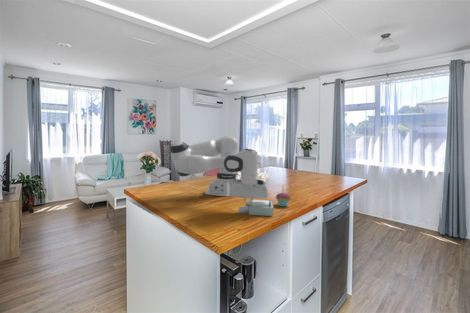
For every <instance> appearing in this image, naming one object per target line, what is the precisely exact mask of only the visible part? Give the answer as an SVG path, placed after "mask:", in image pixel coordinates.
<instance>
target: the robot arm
mask: <svg viewBox="0 0 470 313" xmlns="http://www.w3.org/2000/svg"><path fill="white" fill-rule="evenodd" d="M238 142H239V141H238V140H237V138H235V137H234V136H228V135H227V136H223V137H218V138H217V137H216V138H215V139H214V138H213V139H211V140H210V139H209V140H206V141H205V140H204V141H202V142H197V143H194V144H191V145H189V144H187V143H186V142H184V141H183V142H182V141H178V142H175V143H173V144H171V146H170V150H169V151H170V154H171V159H172V162H173V164H174V168H175V171H176V173H177V175H178V176H180V177H188V176H191V175H198V174H203V173H206V172H209V171H212V170H215V169H219V171H218V172H217V173H216V178H215V179H214V180H212V181H211V182H210V183H209V184H208V186H207V187H208V189H206V190H205V191H204V194H205V195H209V196H210V195H211V196H220V197H229V196H230V198H243V201H244V203H245V206H251V202H252V201H253V200H254V199H257V200H266V199H268V198H269V191H268V190H269V189H268V185H267V180H266V179H265V178H263V177H259V174H258V168H259V152H257V150H255V149H252V148H243V149H242V150H240V151H239V150H238V149H239V143H238ZM218 155H220V157H217V156H218ZM238 172H239V173H240V179H239V178H237V177H238V174H237V173H238ZM247 199H249V200H251V201H247Z"/></svg>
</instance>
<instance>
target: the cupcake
mask: <svg viewBox="0 0 470 313" xmlns="http://www.w3.org/2000/svg"><path fill="white" fill-rule="evenodd" d="M281 187H282V190H281V191H282V192H279V193H277V194H276V195H275V196H276V197H275V199H276V201H277V203H278V206H280V207H287V206H288V203H289V201H291V198H292V197H291V195H290V194H288V193H286V192H285V191H284V188H285V187H284V184H282V186H281ZM286 205H287V206H286Z"/></svg>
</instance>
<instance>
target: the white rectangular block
mask: <svg viewBox="0 0 470 313" xmlns="http://www.w3.org/2000/svg"><path fill="white" fill-rule="evenodd" d="M269 201H270V200H266V199H253V201H252V203H251V206H254V207H269Z"/></svg>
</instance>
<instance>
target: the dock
mask: <svg viewBox="0 0 470 313" xmlns="http://www.w3.org/2000/svg"><path fill="white" fill-rule="evenodd" d="M249 200H250V199H249ZM250 201H251V200H250ZM250 201H249V202H250ZM268 201H269V207H254V206H239V208H238V210H237V214H244V215H245V214H246V215H249V216H268V217H274V204H273V203H274V202H273V200H268ZM251 203H252V202H251Z"/></svg>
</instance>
